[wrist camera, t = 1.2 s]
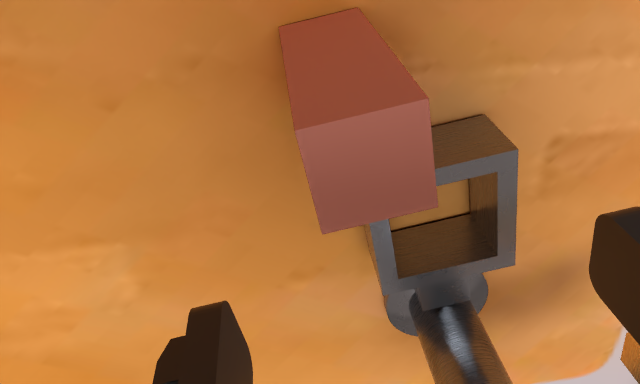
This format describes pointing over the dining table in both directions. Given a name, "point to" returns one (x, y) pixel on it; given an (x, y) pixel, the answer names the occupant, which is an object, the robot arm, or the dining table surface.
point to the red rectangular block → (357, 122)
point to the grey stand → (458, 258)
